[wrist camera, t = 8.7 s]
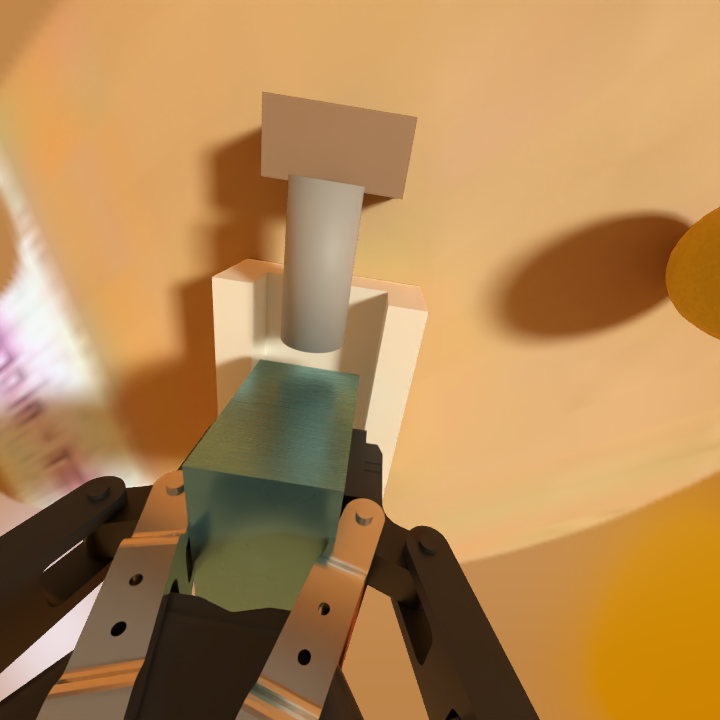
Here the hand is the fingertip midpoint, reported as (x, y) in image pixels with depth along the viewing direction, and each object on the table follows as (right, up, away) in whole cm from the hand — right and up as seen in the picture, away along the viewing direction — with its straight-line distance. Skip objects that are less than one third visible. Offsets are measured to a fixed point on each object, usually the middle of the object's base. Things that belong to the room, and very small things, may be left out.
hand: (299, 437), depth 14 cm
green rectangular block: (0, 0, +1) cm, 1 cm away
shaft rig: (0, +3, +5) cm, 6 cm away
